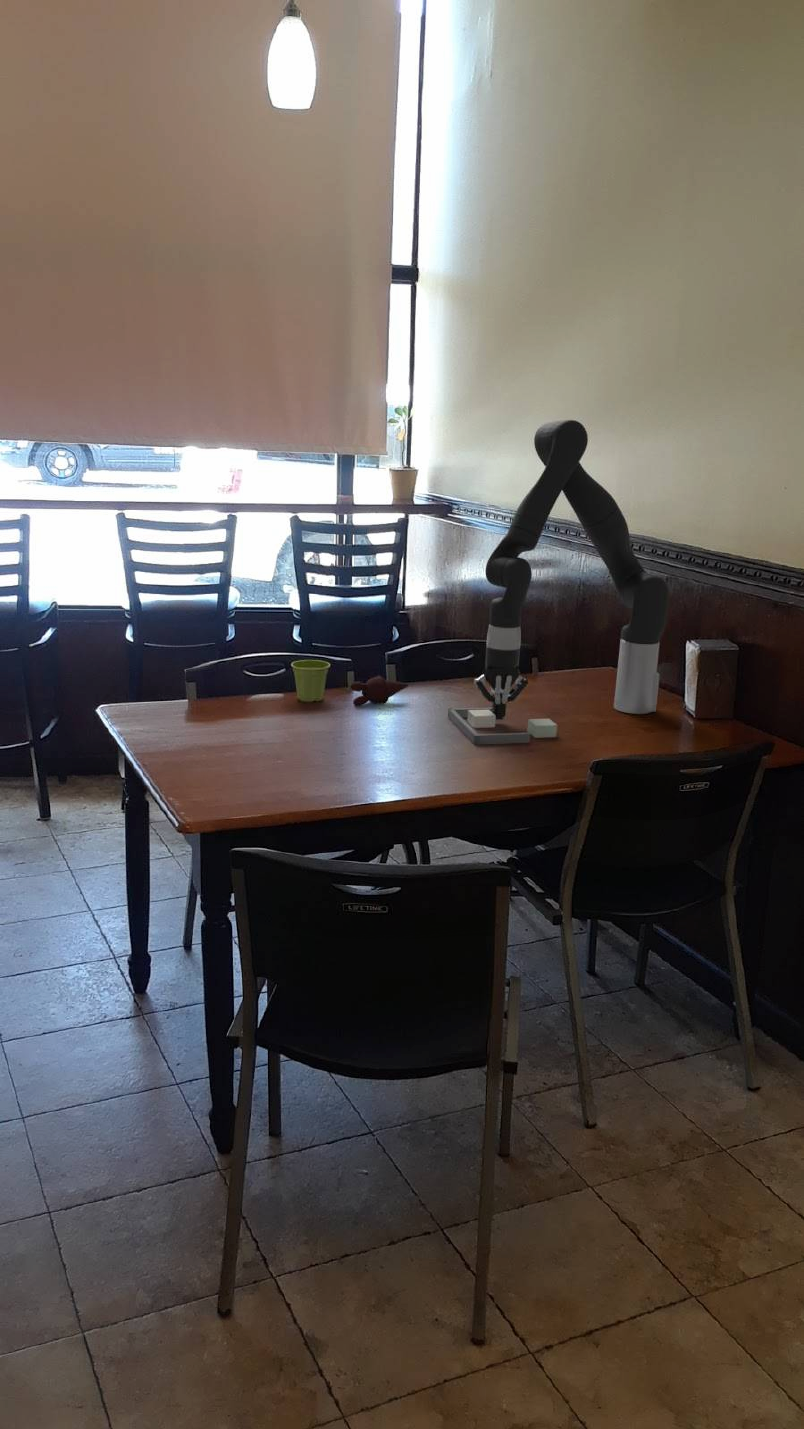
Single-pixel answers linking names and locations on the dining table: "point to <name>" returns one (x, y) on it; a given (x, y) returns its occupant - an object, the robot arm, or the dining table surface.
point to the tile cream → (481, 718)
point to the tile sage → (542, 728)
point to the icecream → (376, 690)
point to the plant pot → (310, 679)
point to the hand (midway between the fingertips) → (498, 718)
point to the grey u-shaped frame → (476, 738)
